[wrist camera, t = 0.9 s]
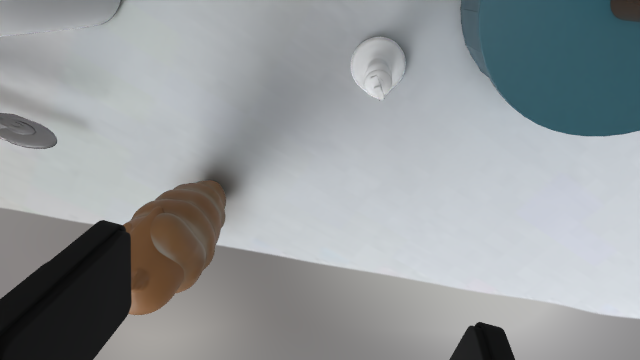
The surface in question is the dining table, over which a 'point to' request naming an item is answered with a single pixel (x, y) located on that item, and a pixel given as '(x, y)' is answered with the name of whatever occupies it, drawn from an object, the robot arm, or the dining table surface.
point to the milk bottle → (53, 15)
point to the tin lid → (565, 61)
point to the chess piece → (378, 66)
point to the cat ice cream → (173, 242)
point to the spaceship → (25, 132)
